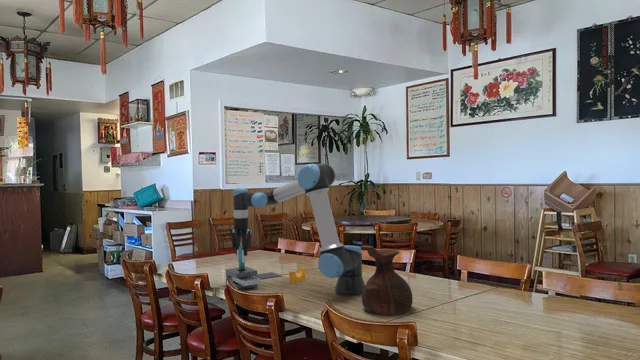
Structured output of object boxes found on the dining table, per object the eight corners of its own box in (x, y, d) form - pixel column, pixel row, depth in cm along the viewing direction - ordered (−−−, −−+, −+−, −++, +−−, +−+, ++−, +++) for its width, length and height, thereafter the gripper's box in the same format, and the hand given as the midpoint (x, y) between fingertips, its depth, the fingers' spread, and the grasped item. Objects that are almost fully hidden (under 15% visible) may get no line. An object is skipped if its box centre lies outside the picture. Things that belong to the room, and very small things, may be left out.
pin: (245, 268, 260) (245, 246, 259) (240, 269, 258) (240, 246, 258) (243, 267, 262) (242, 245, 262) (238, 268, 261) (237, 246, 260)
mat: (281, 276, 282) (281, 275, 282) (262, 279, 276) (262, 278, 276) (272, 272, 292) (272, 272, 292) (253, 275, 286) (253, 274, 286)
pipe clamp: (298, 278, 277) (298, 267, 277) (305, 279, 275) (305, 267, 274) (286, 283, 266) (286, 271, 266) (293, 283, 264) (293, 271, 264)
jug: (359, 306, 217) (358, 239, 217) (408, 306, 217) (407, 238, 216) (362, 322, 196) (361, 247, 195) (416, 321, 195) (415, 246, 194)
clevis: (262, 288, 253) (262, 272, 253) (241, 292, 247) (240, 275, 247) (246, 281, 270) (246, 266, 270) (226, 284, 264) (225, 269, 264)
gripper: (257, 217, 260) (257, 261, 260) (232, 216, 266) (233, 259, 267) (249, 218, 253) (250, 263, 253) (224, 217, 259) (225, 261, 260)
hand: (241, 261), depth 260 cm, fingers closed on pin, 2 cm apart
